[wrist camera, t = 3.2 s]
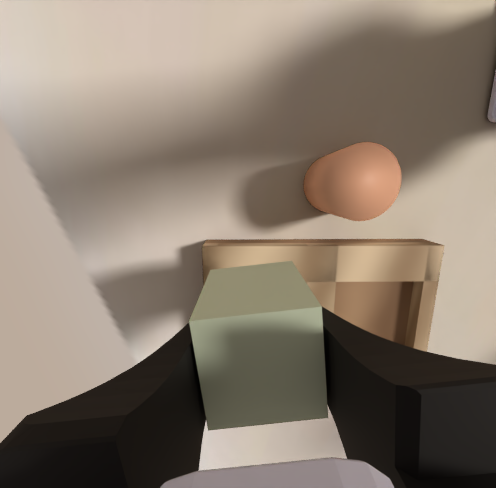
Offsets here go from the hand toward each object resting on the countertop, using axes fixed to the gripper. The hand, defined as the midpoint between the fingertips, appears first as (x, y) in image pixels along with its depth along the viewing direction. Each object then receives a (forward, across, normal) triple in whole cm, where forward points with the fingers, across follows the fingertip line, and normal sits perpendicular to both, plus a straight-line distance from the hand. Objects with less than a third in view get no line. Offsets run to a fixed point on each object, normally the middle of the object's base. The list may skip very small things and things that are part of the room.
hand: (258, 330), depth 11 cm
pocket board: (+8, -4, +4) cm, 10 cm away
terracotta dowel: (+8, -6, -6) cm, 12 cm away
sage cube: (+2, 0, 0) cm, 2 cm away
